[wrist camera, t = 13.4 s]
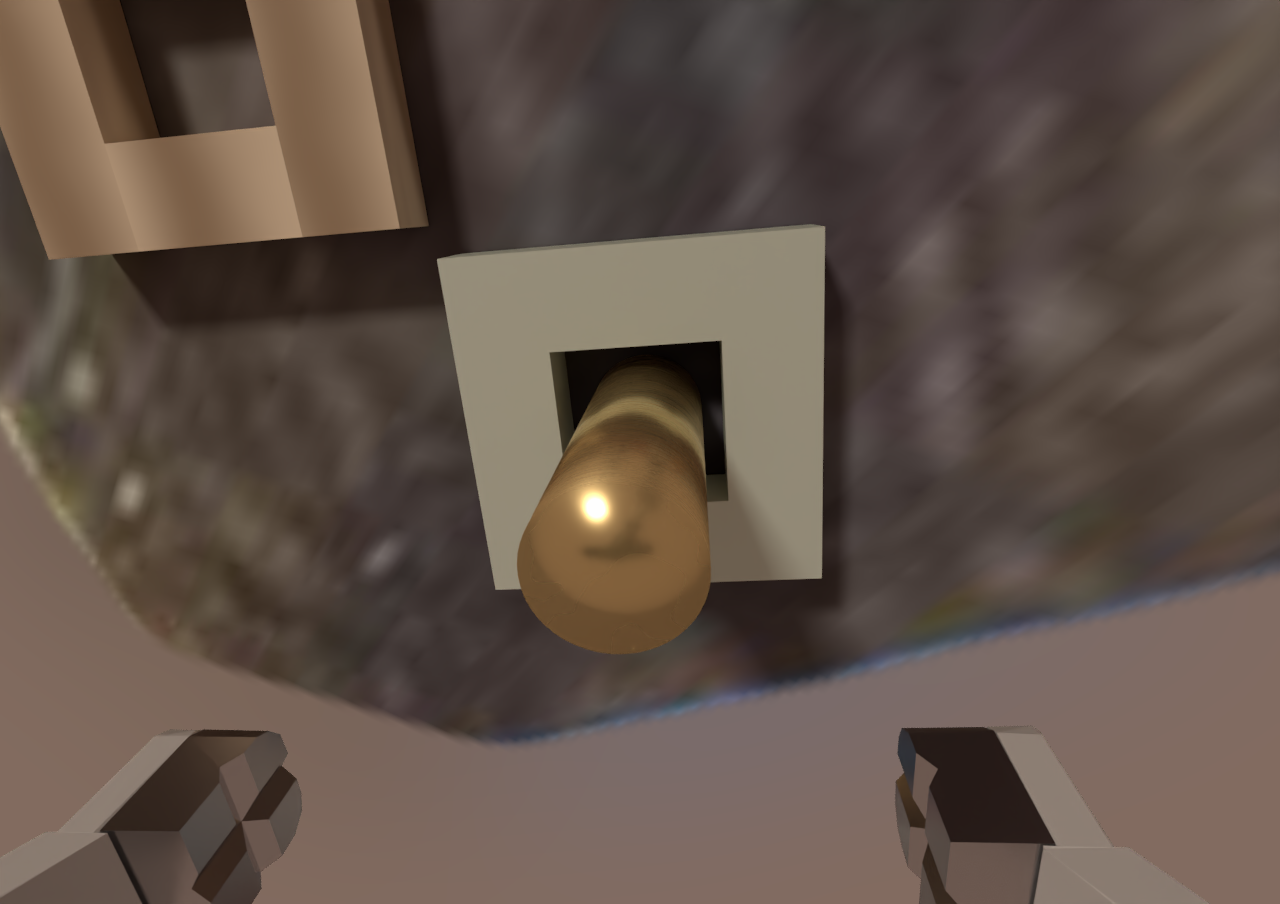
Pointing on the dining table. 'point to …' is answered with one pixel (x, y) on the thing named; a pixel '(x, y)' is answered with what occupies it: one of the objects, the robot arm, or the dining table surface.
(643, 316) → the socket block
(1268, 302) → the dining table surface
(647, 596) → the pin
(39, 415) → the dining table surface
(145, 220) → the birch mount
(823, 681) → the dining table surface
